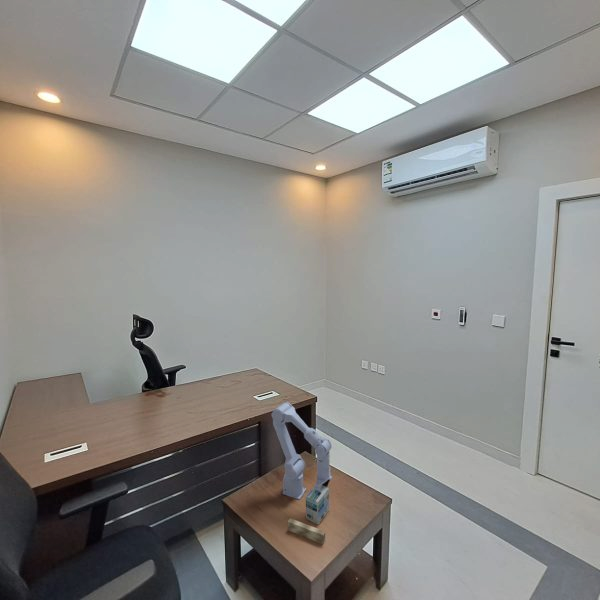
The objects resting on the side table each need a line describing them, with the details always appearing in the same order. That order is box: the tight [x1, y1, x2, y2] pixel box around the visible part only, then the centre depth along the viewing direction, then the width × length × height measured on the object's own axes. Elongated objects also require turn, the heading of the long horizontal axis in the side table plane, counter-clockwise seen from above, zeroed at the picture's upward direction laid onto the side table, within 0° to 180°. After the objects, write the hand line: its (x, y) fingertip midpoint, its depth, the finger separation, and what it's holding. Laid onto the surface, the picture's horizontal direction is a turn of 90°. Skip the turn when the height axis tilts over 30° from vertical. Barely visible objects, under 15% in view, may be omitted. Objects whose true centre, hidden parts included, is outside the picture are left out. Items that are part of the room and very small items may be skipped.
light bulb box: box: [305, 484, 330, 526], centre depth 142 cm, size 11×7×11 cm, turn 147°
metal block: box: [287, 517, 326, 545], centre depth 131 cm, size 16×2×4 cm, turn 64°
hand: (323, 493), depth 148 cm, fingers closed
